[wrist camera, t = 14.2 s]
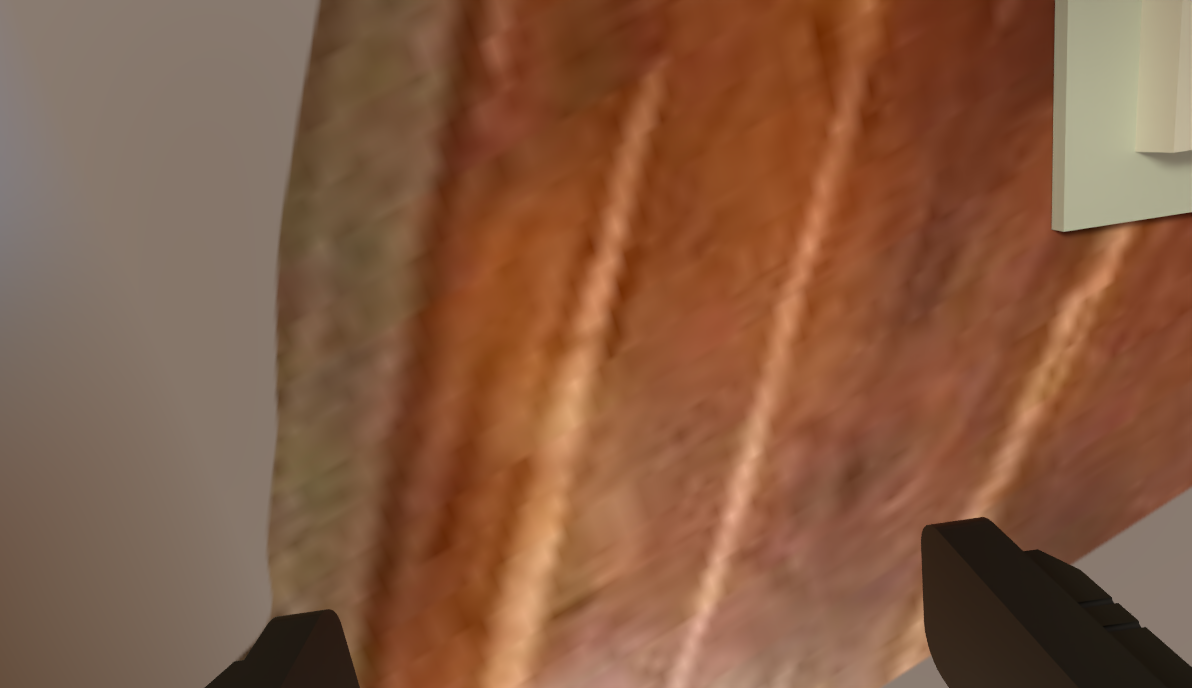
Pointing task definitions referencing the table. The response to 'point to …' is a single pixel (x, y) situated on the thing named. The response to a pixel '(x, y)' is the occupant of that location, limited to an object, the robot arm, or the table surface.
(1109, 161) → the collar stand
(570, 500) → the table surface
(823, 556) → the table surface
